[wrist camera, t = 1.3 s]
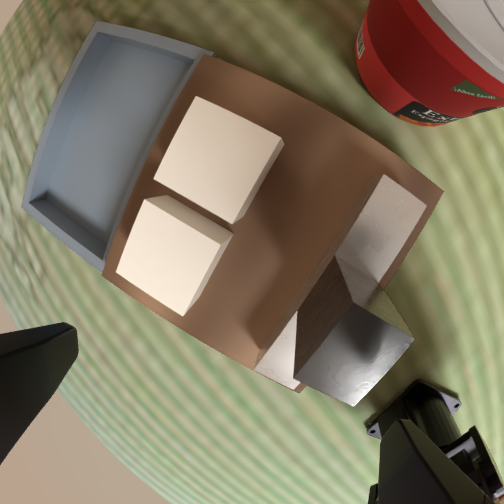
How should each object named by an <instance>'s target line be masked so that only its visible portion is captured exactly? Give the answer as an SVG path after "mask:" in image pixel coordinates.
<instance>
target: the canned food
mask: <svg viewBox="0 0 504 504" xmlns="http://www.w3.org/2000/svg"><path fill="white" fill-rule="evenodd" d="M355 59H356V63H357V67H358V71H359V74H360V76H361V78H362V80H363V83H364V85H365V86H366V88H367V89H368V91H369V93H370V94H371V95H372V97H373V98H374V99H375V100H376V101H377V102H378V103H379V104H380V105H381V106H382V107H383V108H384V109H385V110H387V111H388V112H389V113H391V114H393V115H394V116H396V117H397V118H399V119H402V120H404V121H407V122H409V123H411V124H415V125H420V126H438V125H442V124H446V123H449V122H452V121H456V120H459V119H462V118H466V117H469V116H472V115H476V114H479V113H483V112H486V111H490V110H493V109H497V108H501V107H504V0H370V3H369V6H368V9H367V11H366V14H365V17H364V19H363V22H362V25H361V27H360V30H359V33H358V35H357V38H356V44H355Z"/></svg>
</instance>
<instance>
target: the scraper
mask: <svg viewBox="0 0 504 504" xmlns="http://www.w3.org/2000/svg"><path fill="white" fill-rule="evenodd" d="M426 206H427V205H425V204H424V203H423V202H422V201H420V200H419V199H418V198H416V197H415V196H414V195H412V194H411V193H410V192H408V191H407V190H406V189H404V188H403V187H402V186H400V185H399V184H397V183H396V182H395V181H393V180H392V179H390V178H389V177H388V176H386V175H385V174H373V175H372V177H371V178H370V180H369V182H368V183H367V185H366V187H365V189H364V190H363V192H362V194H361V195H360V197H359V199H358V200H357V202H356V204H355V205H354V207H353V209H352V210H351V212H350V214H349V215H348V217H347V218H346V220H345V222H344V223H343V225H342V227H341V228H340V230H339V231H338V233H337V235H336V236H335V238H334V239H333V241H332V243H331V244H330V246H329V247H328V249H327V250H326V252H325V254H324V255H323V257H322V258H321V260H320V261H319V263H318V264H317V266H316V267H315V269H314V270H313V272H312V274H311V275H310V277H309V278H308V280H307V281H306V283H305V284H304V286H303V287H302V289H301V290H300V292H299V293H298V294H297V296H296V297H295V299H294V300H293V302H292V303H291V305H290V306H289V308H288V309H287V311H286V312H285V313H284V315H283V316H282V318H281V319H280V321H279V322H278V324H277V325H276V326H275V328H274V329H273V331H272V332H271V333H270V335H269V336H268V338H267V339H266V340H265V342H264V343H263V345H262V346H261V347H260V349H259V352H258V355H257V359H256V363H255V367H254V370H255V371H257V372H259V373H261V374H263V375H265V376H267V377H269V378H271V379H272V380H274V381H276V382H278V383H280V384H282V385H284V386H287V387H289V388H291V389H293V390H294V389H295V388H296V387H297V386H298V385H299V384H300V382H301V383H303V384H305V385H307V386H310V387H312V388H314V389H316V390H318V391H320V392H322V393H324V394H326V395H329V396H331V397H333V398H335V399H337V400H340V401H342V402H344V403H346V404H349V405H351V406H353V407H354V406H355V405H356V404H357V403H358V402H359V401H360V400H361V399H362V398H363V397H364V396H365V395H366V394H367V393H368V392H369V391H370V390H371V389H372V388H373V387H374V386H375V385H376V384H377V383H378V381H379V380H380V379H381V378H382V377H383V376H384V375H385V374H386V373H387V372H388V371H389V369H390V368H391V367H392V366H393V365H394V364H395V363H396V361H397V360H398V359H399V358H400V357H401V356H402V354H403V353H404V352H405V351H406V350H407V348H408V347H409V346H410V345H411V344H412V342H413V341H414V340H415V338H414V337H413V335H412V333H411V332H410V330H409V329H408V327H407V325H406V324H405V322H404V321H403V319H402V317H401V316H400V314H399V313H398V311H397V310H396V308H395V306H394V305H393V303H392V302H391V300H390V299H389V297H388V296H387V294H386V293H385V291H384V290H383V288H382V287H381V285H380V284H379V281H380V280H381V278H382V277H383V276H384V274H385V273H386V271H387V270H388V268H389V267H390V265H391V264H392V262H393V261H394V259H395V257H396V256H397V254H398V253H399V251H400V250H401V248H402V247H403V245H404V243H405V242H406V240H407V239H408V237H409V235H410V234H411V232H412V230H413V229H414V227H415V225H416V224H417V222H418V220H419V219H420V217H421V215H422V213H423V212H424V210H425V208H426Z"/></svg>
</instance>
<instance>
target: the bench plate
mask: <svg viewBox="0 0 504 504" xmlns="http://www.w3.org/2000/svg"><path fill="white" fill-rule="evenodd" d="M196 96H197V97H200V98H202V99H204V100H206V101H209V102H211V103H213V104H215V105H217V106H220V107H222V108H224V109H226V110H228V111H230V112H232V113H234V114H236V115H238V116H240V117H243V118H245V119H247V120H249V121H251V122H252V123H254V124H256V125H258V126H260V127H262V128H264V129H266V130H268V131H270V132H272V133H274V134H275V135H277V136H279V137H281V138H282V140H283V142H284V146H283V148H282V150H281V151H280V153H279V155H278V156H277V158H276V160H275V162H274V163H273V165H272V167H271V169H270V170H269V172H268V174H267V176H266V177H265V179H264V181H263V183H262V184H261V186H260V188H259V190H258V191H257V193H256V195H255V197H254V198H253V200H252V202H251V204H250V206H249V207H248V209H247V211H246V213H245V214H244V216H243V217H242V218H240V219H239V220H238V221H236V222H235V223H233V224H231V223H229V222H227V221H226V220H224V219H222V218H220V217H219V216H217V215H215V214H214V213H212V212H210V211H208V210H207V209H205V208H203V207H202V206H200V205H198V204H196V203H195V202H193V201H191V200H189V199H188V198H186V197H184V196H182V195H181V194H179V193H177V192H175V191H174V190H172V189H170V188H168V187H167V186H165V185H163V184H161V183H160V182H158V181H156V180H154V176H155V174H156V172H157V170H158V168H159V166H160V164H161V162H162V159H163V157H164V155H165V153H166V151H167V149H168V147H169V145H170V143H171V141H172V139H173V137H174V135H175V134H176V132H177V130H178V128H179V126H180V124H181V122H182V120H183V118H184V117H185V115H186V113H187V111H188V109H189V107H190V106H191V104H192V102H193V100H194V99H195V97H196ZM373 174H385V175H386V176H388V177H389V178H390V179H392V180H393V181H395V182H396V183H397V184H399V185H400V186H402V187H403V188H404V189H406V190H407V191H408V192H410V193H411V194H412V195H414V196H415V197H416V198H418V199H419V200H420V201H422V202H423V203H424V204H425V205H427V206H426V208H425V210H424V212H423V213H422V215H421V217H420V219H419V220H418V222H417V224H416V225H415V227H414V229H413V230H412V232H411V234H410V235H409V237H408V239H407V240H406V242H405V243H404V245H403V247H402V248H401V250H400V251H399V253H398V254H397V256H396V257H395V259H394V261H393V262H392V264H391V265H390V267H389V268H388V270H387V271H386V273H385V274H384V276H383V277H382V278H381V280H380V281H379V284H380V285H381V287H382V288H383V289H384V288H385V286H386V285H387V284H388V282H389V281H390V279H391V278H392V276H393V275H394V273H395V272H396V270H397V269H398V267H399V266H400V264H401V263H402V261H403V260H404V258H405V257H406V255H407V253H408V252H409V250H410V249H411V247H412V245H413V244H414V242H415V241H416V239H417V237H418V236H419V234H420V232H421V231H422V229H423V227H424V226H425V224H426V222H427V221H428V219H429V217H430V215H431V214H432V212H433V210H434V208H435V207H436V205H437V203H438V201H439V199H440V198H441V196H442V194H443V192H444V191H443V190H442V189H440V188H439V187H438V186H437V185H435V184H434V183H433V182H432V181H431V180H429V179H428V178H427V177H425V176H424V175H423V174H422V173H420V172H419V171H418V170H416V169H415V168H414V167H412V166H411V165H410V164H408V163H407V162H406V161H404V160H403V159H402V158H400V157H399V156H397V155H396V154H395V153H393V152H392V151H390V150H389V149H387V148H386V147H385V146H383V145H382V144H380V143H379V142H377V141H376V140H374V139H373V138H371V137H370V136H368V135H367V134H365V133H363V132H362V131H360V130H359V129H357V128H356V127H354V126H352V125H351V124H349V123H347V122H346V121H344V120H342V119H341V118H339V117H337V116H336V115H334V114H332V113H331V112H329V111H327V110H325V109H324V108H322V107H320V106H318V105H316V104H315V103H313V102H311V101H309V100H307V99H305V98H303V97H301V96H300V95H298V94H296V93H294V92H292V91H290V90H288V89H286V88H284V87H282V86H280V85H278V84H276V83H273V82H271V81H269V80H267V79H265V78H263V77H261V76H258V75H256V74H254V73H252V72H249V71H247V70H245V69H242V68H240V67H238V66H235V65H233V64H230V63H228V62H225V61H223V60H220V59H217V58H215V57H212V56H210V55H207V54H204V55H203V56H202V58H201V59H200V61H199V63H198V64H197V66H196V68H195V69H194V71H193V73H192V74H191V76H190V78H189V79H188V81H187V83H186V84H185V86H184V88H183V90H182V91H181V93H180V95H179V97H178V98H177V100H176V102H175V104H174V106H173V108H172V109H171V111H170V113H169V115H168V117H167V119H166V121H165V123H164V125H163V127H162V129H161V130H160V132H159V134H158V136H157V139H156V141H155V143H154V145H153V147H152V149H151V151H150V153H149V155H148V157H147V159H146V162H145V164H144V166H143V168H142V170H141V173H140V175H139V177H138V179H137V182H136V184H135V186H134V189H133V191H132V193H131V196H130V198H129V201H128V203H127V206H126V208H125V211H124V213H123V216H122V218H121V221H120V224H119V226H118V229H117V232H116V234H115V237H114V240H113V243H112V245H111V248H110V251H109V254H108V257H107V260H106V263H105V266H104V269H103V272H102V276H103V277H104V278H106V279H107V280H109V281H110V282H111V283H113V284H114V285H115V286H117V287H118V288H120V289H121V290H123V291H124V292H125V293H127V294H128V295H130V296H131V297H133V298H134V299H136V300H137V301H139V302H140V303H142V304H143V305H144V306H146V307H148V308H149V309H151V310H152V311H154V312H155V313H157V314H158V315H160V316H161V317H163V318H164V319H166V320H168V321H169V322H171V323H172V324H174V325H175V326H177V327H179V328H180V329H182V330H183V331H185V332H187V333H188V334H190V335H192V336H193V337H195V338H197V339H198V340H200V341H202V342H203V343H205V344H207V345H209V346H210V347H212V348H214V349H215V350H217V351H219V352H221V353H222V354H224V355H226V356H228V357H230V358H231V359H233V360H235V361H237V362H239V363H240V364H242V365H244V366H246V367H248V368H250V369H252V370H254V367H255V363H256V359H257V355H258V352H259V349H260V347H261V346H262V345H263V343H264V342H265V340H266V339H267V338H268V336H269V335H270V333H271V332H272V331H273V329H274V328H275V326H276V325H277V324H278V322H279V321H280V319H281V318H282V316H283V315H284V313H285V312H286V311H287V309H288V308H289V306H290V305H291V303H292V302H293V300H294V299H295V297H296V296H297V294H298V293H299V292H300V290H301V289H302V287H303V286H304V284H305V283H306V281H307V280H308V278H309V277H310V275H311V274H312V272H313V270H314V269H315V267H316V266H317V264H318V263H319V261H320V260H321V258H322V257H323V255H324V254H325V252H326V250H327V249H328V247H329V246H330V244H331V243H332V241H333V239H334V238H335V236H336V235H337V233H338V231H339V230H340V228H341V227H342V225H343V223H344V222H345V220H346V218H347V217H348V215H349V214H350V212H351V210H352V209H353V207H354V205H355V204H356V202H357V200H358V199H359V197H360V195H361V194H362V192H363V190H364V189H365V187H366V185H367V183H368V182H369V180H370V178H371V177H372V175H373ZM164 195H168V196H170V197H172V198H174V199H175V200H177V201H179V202H180V203H182V204H184V205H186V206H187V207H189V208H191V209H192V210H194V211H196V212H198V213H199V214H201V215H203V216H204V217H206V218H208V219H210V220H211V221H213V222H215V223H216V224H218V225H220V226H222V227H223V228H225V229H227V230H228V231H230V232H232V233H233V236H232V238H231V240H230V241H229V243H228V245H227V247H226V249H225V251H224V252H223V254H222V256H221V258H220V260H219V262H218V263H217V265H216V267H215V269H214V271H213V273H212V274H211V276H210V278H209V280H208V282H207V284H206V286H205V287H204V289H203V291H202V293H201V295H200V297H199V298H198V299H197V300H196V302H195V303H194V304H193V305H192V306H191V308H190V309H189V310H188V311H187V312H186V314H185V315H184V316H181V315H180V314H178V313H176V312H175V311H173V310H172V309H170V308H169V307H167V306H165V305H164V304H162V303H161V302H159V301H158V300H156V299H155V298H153V297H152V296H150V295H149V294H147V293H145V292H144V291H142V290H141V289H140V288H138V287H137V286H135V285H134V284H132V283H131V282H129V281H128V280H126V279H125V278H123V277H122V276H121V275H119V274H118V273H116V270H117V267H118V264H119V262H120V259H121V256H122V253H123V251H124V248H125V245H126V243H127V240H128V238H129V235H130V233H131V230H132V227H133V225H134V223H135V220H136V218H137V215H138V213H139V210H140V208H141V206H142V203H143V201H144V199H148V198H153V197H159V196H164ZM254 371H255V370H254ZM255 372H257V371H255ZM257 373H259V372H257ZM259 374H261V373H259ZM261 375H263V374H261ZM263 376H265V375H263ZM265 377H267V376H265ZM267 378H269V377H267ZM269 379H271V378H269ZM271 380H272V379H271ZM273 381H274V380H273ZM275 382H276V381H275ZM277 383H278V382H277ZM279 384H280V383H279ZM281 385H282V384H281ZM283 386H284V385H283ZM306 386H307V385H305V384H303V383H301V382H300V384H299V385H298V386H297V387H296V388H295V389H294V390H293V389H291V388H289V387H287V386H285V387H287V388H289V389H291V390H293V391H295V392H297V393H300V392H301V391H302V390H303V389H304V388H305V387H306Z"/></svg>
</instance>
